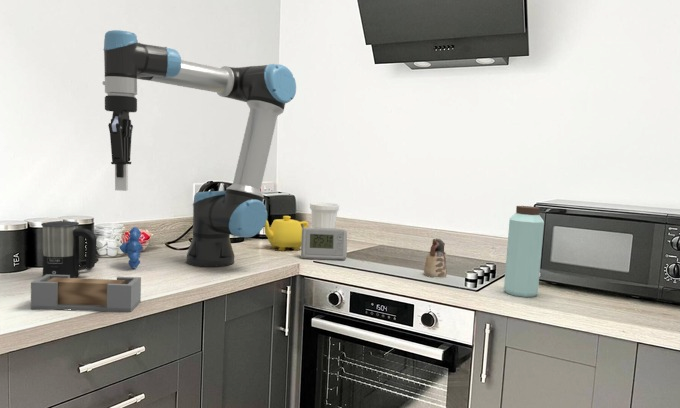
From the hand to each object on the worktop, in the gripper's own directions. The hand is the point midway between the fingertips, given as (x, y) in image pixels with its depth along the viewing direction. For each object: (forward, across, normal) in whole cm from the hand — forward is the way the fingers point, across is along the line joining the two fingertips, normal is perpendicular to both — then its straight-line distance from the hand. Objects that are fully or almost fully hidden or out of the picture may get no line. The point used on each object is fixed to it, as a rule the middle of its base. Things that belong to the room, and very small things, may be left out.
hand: (121, 190), depth 143 cm
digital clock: (+27, -48, +55) cm, 78 cm away
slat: (+24, +17, -3) cm, 30 cm away
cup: (+28, -88, +58) cm, 109 cm away
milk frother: (+26, -14, -18) cm, 34 cm away
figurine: (+28, -26, +90) cm, 97 cm away
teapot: (+27, -65, +42) cm, 82 cm away
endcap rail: (+25, +17, -3) cm, 30 cm away
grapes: (+26, -25, -4) cm, 36 cm away
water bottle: (+27, -6, +109) cm, 113 cm away
